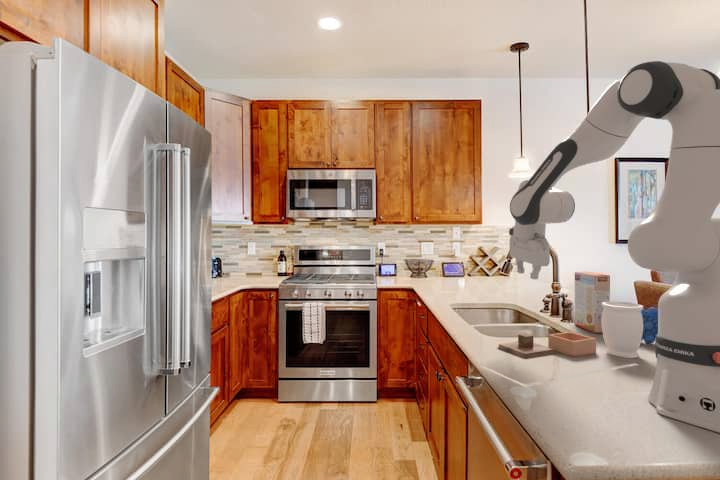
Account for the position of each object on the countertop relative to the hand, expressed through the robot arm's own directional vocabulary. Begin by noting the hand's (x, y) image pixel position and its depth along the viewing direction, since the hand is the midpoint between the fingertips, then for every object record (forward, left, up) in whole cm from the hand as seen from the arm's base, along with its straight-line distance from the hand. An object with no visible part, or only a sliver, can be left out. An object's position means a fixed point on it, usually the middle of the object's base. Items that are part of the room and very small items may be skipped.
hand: (527, 275), depth 129 cm
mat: (-4, +5, -23) cm, 23 cm away
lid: (-4, +5, -22) cm, 23 cm away
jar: (-17, -19, -23) cm, 34 cm away
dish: (-10, -7, -23) cm, 26 cm away
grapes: (-12, -39, -23) cm, 47 cm away
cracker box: (+9, -40, -23) cm, 47 cm away
